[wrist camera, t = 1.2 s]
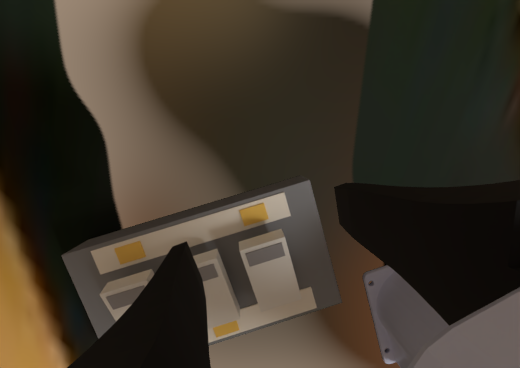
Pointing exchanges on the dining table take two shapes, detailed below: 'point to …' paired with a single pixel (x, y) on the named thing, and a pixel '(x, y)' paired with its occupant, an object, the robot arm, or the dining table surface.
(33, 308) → the dining table surface
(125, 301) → the switch
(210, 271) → the switch
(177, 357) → the robot arm
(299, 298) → the switch
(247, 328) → the switch unit
